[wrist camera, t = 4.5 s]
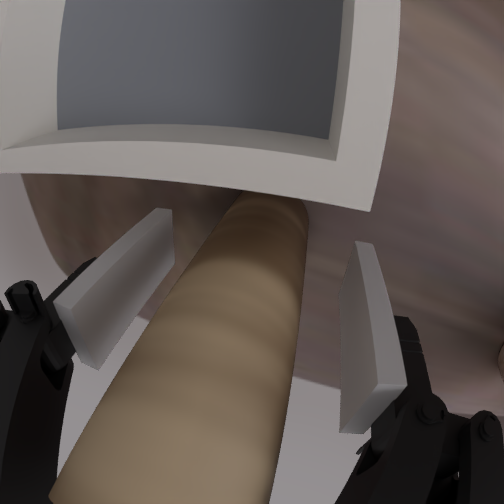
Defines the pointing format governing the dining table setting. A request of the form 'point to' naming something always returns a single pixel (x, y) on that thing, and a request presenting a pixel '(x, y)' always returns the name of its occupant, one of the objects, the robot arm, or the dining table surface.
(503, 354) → the planter
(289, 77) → the box
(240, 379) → the dowel
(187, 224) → the dining table surface
